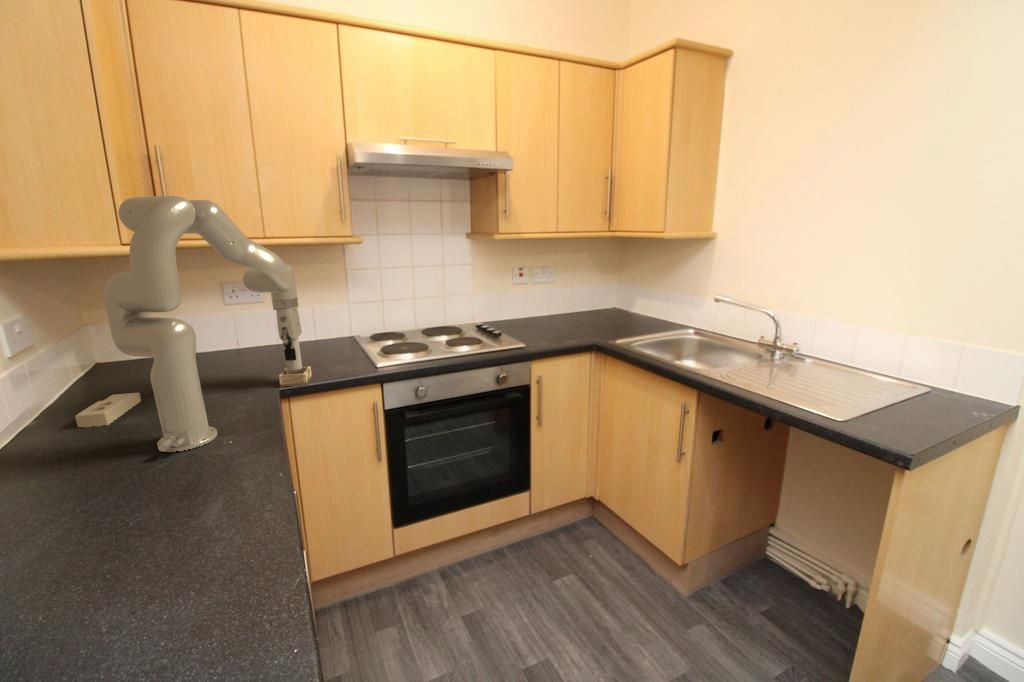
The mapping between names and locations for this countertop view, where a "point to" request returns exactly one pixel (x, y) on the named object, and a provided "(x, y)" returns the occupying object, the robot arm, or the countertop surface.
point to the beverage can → (296, 364)
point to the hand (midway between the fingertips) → (293, 357)
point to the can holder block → (295, 377)
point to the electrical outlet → (107, 410)
